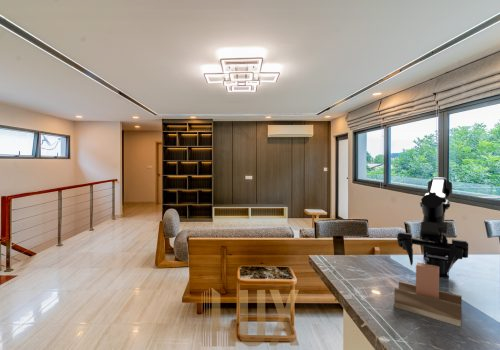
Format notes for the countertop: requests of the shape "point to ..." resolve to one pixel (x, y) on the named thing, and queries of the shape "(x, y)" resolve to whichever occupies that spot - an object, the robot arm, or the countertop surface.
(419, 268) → the salmon orange rectangular block
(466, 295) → the countertop surface
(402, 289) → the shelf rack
